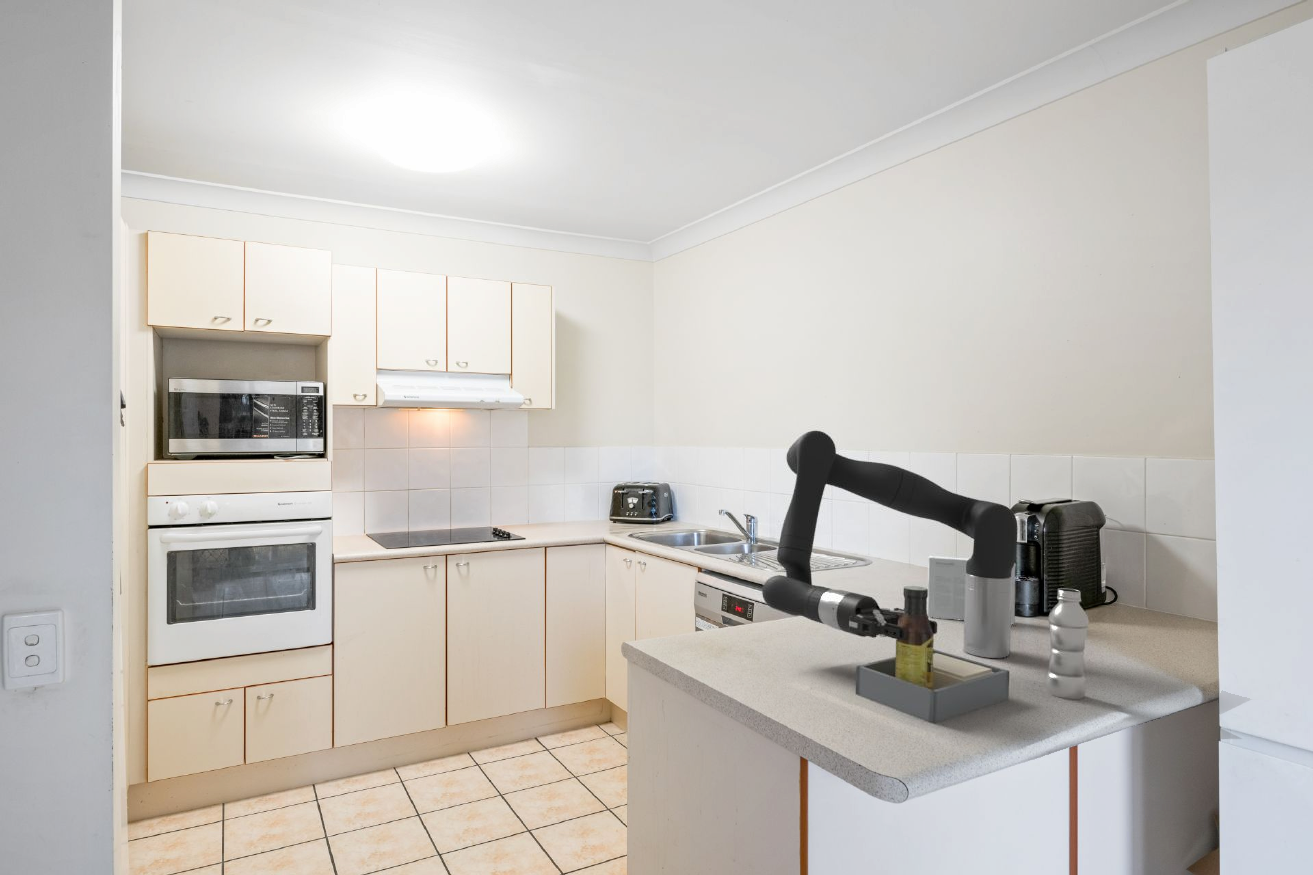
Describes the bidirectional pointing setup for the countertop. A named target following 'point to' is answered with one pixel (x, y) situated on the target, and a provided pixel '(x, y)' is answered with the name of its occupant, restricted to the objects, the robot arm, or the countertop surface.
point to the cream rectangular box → (954, 671)
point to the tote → (930, 691)
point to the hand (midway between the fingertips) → (921, 631)
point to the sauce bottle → (915, 640)
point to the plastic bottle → (1067, 646)
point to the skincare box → (953, 588)
